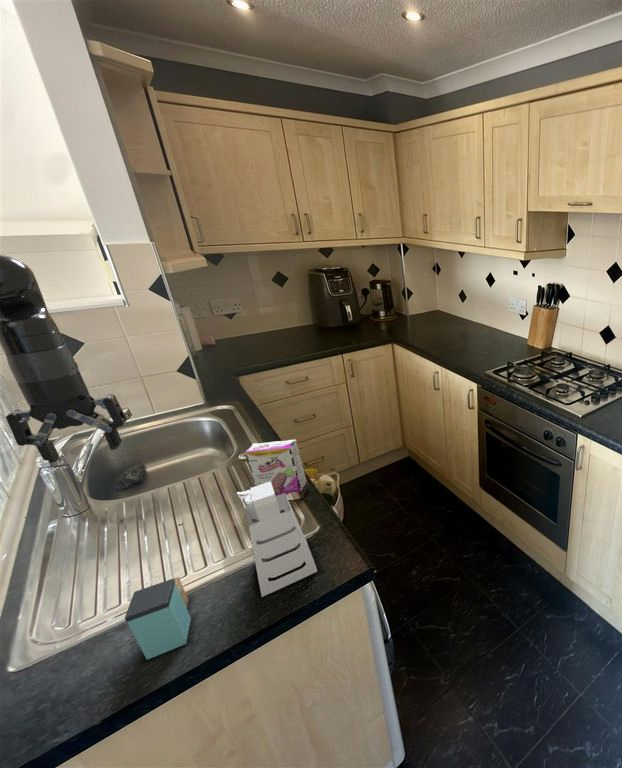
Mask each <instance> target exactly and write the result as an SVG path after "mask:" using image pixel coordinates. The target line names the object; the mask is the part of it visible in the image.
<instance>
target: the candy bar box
mask: <svg viewBox="0 0 622 768" xmlns="http://www.w3.org/2000/svg"><path fill="white" fill-rule="evenodd" d="M245 458H246V460H247V464H248V466H249V470H250V473H251V476H252V479H253V482H254V485H255V486H258V485H261V484H264V483H267V482H270V481H271V483H272V487H273V490H274V493H275V496H278V495H281V494H284V493H285V494H286V495H287V494H289V493H293V492H297V491H302V489H303V487H304V486H305V484H306V482H307V483H308V481H307V477H306V473H305V469H304V465H303V462H302V458H301V454H300V449H299V446H298V441H297V439H286V440H278V441H276V440H275V441H267V442H265V441H264V442H255V443H252V444H251V445H250V446H249V447H248V449H246V450H245ZM255 486H254V487H255Z"/></svg>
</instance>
